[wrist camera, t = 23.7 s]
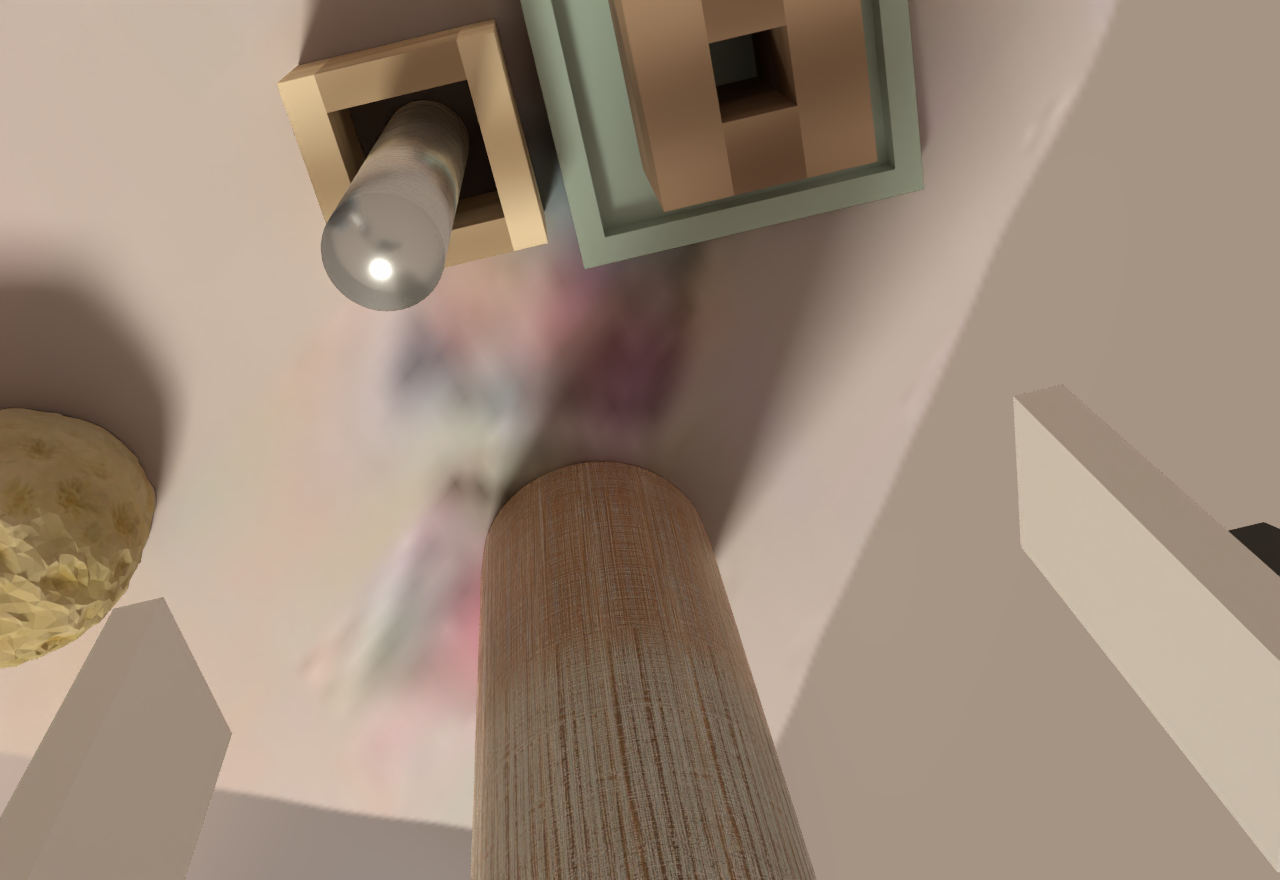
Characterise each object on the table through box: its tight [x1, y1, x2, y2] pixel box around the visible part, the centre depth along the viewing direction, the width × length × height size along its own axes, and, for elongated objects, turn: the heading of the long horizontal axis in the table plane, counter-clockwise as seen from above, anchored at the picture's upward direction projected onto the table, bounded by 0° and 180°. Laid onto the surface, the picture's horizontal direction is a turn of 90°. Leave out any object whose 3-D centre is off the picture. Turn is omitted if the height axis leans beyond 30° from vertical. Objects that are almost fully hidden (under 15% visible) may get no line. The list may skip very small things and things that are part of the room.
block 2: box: [608, 0, 878, 212], centre depth 36 cm, size 7×7×6 cm
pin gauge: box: [321, 100, 469, 311], centre depth 33 cm, size 3×3×14 cm
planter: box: [471, 462, 816, 880], centre depth 38 cm, size 10×10×23 cm
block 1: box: [277, 19, 548, 268], centre depth 38 cm, size 7×7×4 cm
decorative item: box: [0, 408, 156, 668], centre depth 41 cm, size 10×10×10 cm
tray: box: [520, 0, 924, 269], centre depth 39 cm, size 13×13×2 cm
